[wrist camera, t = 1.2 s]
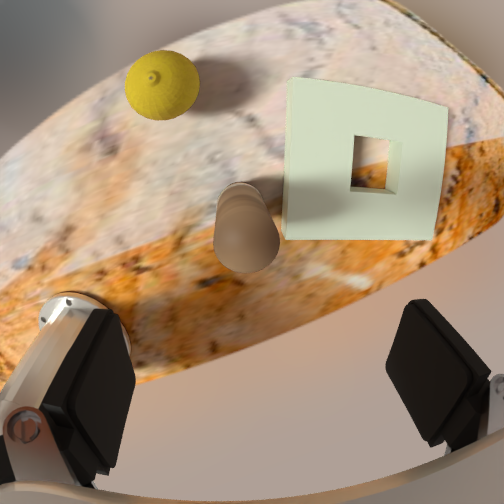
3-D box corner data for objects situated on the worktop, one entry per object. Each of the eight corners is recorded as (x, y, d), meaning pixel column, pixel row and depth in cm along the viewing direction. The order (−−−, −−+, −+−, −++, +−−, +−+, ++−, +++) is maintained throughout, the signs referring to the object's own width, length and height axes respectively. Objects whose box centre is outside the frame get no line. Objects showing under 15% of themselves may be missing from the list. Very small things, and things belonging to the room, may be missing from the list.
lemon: (142, 123, 24) (110, 123, 17) (142, 65, 22) (112, 45, 15) (203, 119, 25) (193, 116, 17) (204, 60, 22) (195, 34, 15)
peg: (259, 219, 29) (278, 273, 18) (217, 219, 28) (213, 274, 18) (261, 178, 27) (282, 210, 17) (217, 178, 27) (211, 210, 17)
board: (419, 232, 30) (431, 240, 28) (281, 230, 29) (285, 239, 27) (434, 107, 25) (448, 107, 23) (287, 81, 24) (293, 76, 21)
